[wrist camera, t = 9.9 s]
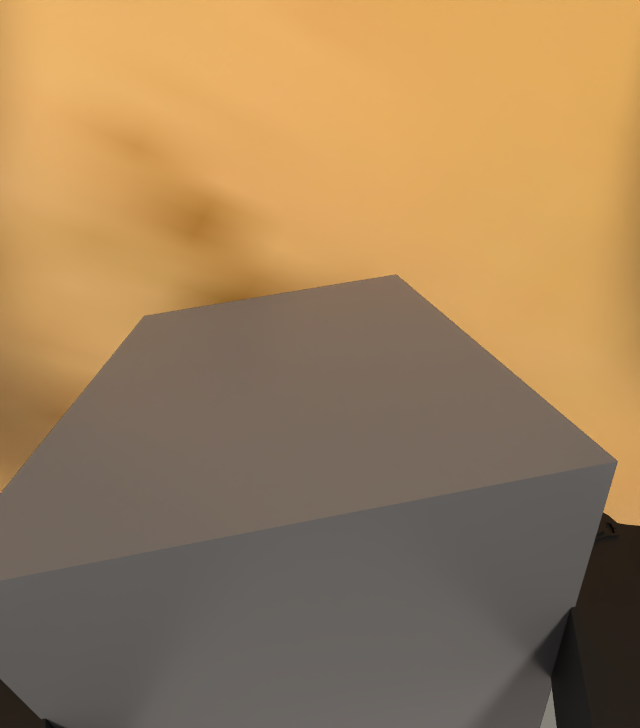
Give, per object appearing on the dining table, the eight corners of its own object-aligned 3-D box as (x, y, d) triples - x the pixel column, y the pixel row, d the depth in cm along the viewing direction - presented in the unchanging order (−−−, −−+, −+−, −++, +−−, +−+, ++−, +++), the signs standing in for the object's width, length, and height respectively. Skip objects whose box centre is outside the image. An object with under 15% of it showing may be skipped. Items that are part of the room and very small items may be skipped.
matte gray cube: (396, 274, 14) (618, 461, 5) (403, 464, 18) (533, 747, 9) (144, 316, 14) (-84, 597, 5) (211, 500, 18) (156, 832, 9)
